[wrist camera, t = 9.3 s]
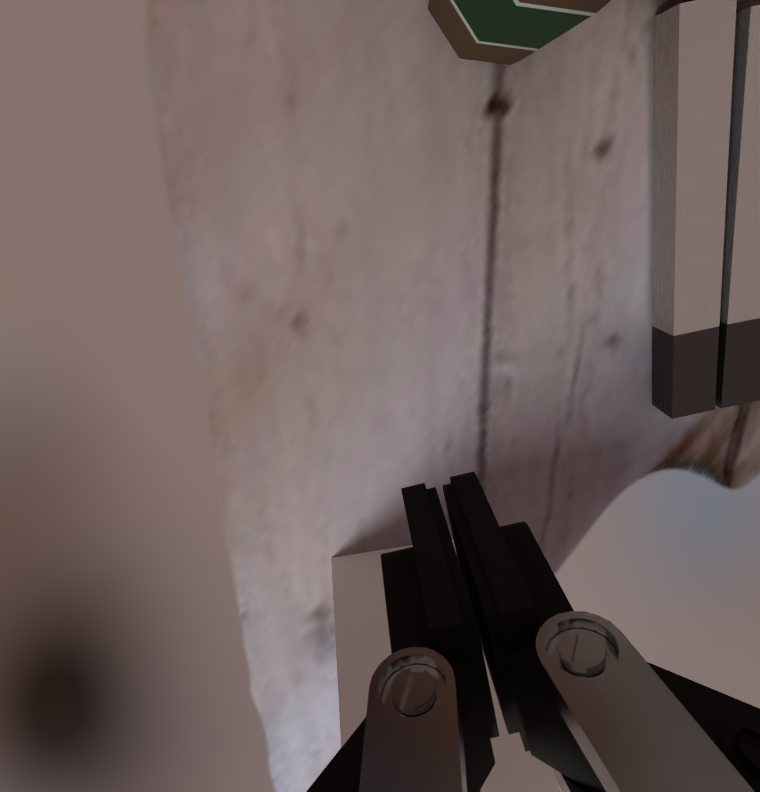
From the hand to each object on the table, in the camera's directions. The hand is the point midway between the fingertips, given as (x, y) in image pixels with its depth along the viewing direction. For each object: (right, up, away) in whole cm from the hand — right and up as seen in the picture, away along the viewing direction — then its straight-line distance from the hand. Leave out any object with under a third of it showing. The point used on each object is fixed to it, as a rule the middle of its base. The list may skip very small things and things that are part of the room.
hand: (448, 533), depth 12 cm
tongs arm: (+18, +15, +22) cm, 32 cm away
